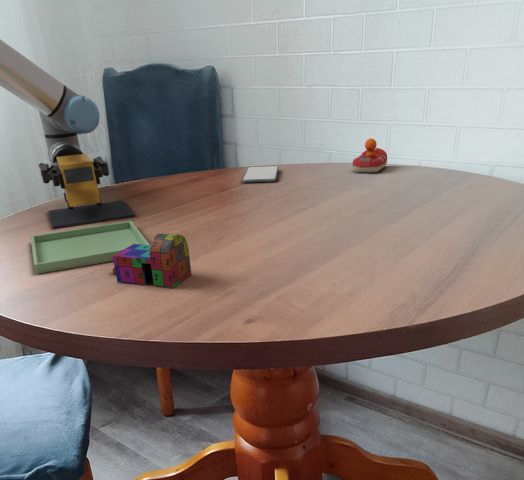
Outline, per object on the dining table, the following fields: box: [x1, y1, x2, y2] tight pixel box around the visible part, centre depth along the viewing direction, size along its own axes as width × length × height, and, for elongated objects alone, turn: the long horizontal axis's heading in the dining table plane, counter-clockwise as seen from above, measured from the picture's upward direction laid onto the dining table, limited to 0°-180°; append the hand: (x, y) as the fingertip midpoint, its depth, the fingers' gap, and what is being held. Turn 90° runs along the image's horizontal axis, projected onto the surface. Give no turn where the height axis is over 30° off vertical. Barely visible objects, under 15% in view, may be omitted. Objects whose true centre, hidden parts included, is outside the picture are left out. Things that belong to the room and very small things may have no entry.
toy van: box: [56, 153, 103, 210], centre depth 110 cm, size 7×11×9 cm, turn 23°
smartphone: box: [242, 165, 279, 183], centre depth 139 cm, size 8×1×15 cm
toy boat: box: [351, 138, 388, 174], centre depth 139 cm, size 8×12×8 cm, turn 155°
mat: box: [48, 200, 135, 230], centre depth 114 cm, size 16×14×1 cm
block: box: [112, 232, 192, 289], centre depth 79 cm, size 12×8×7 cm
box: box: [30, 220, 151, 275], centre depth 93 cm, size 18×17×2 cm
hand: (79, 179), depth 106 cm, fingers closed on toy van, 6 cm apart
